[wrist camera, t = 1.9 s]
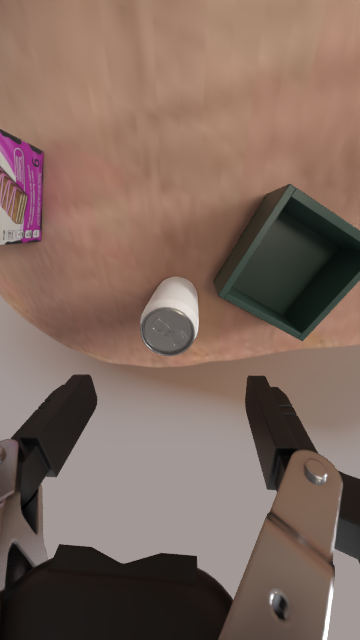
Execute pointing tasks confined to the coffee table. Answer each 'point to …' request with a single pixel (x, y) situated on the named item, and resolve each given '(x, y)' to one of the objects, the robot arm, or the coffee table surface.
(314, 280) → the bin
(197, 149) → the coffee table surface
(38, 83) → the coffee table surface
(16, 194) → the candy bar box
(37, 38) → the coffee table surface
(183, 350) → the can
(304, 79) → the coffee table surface
